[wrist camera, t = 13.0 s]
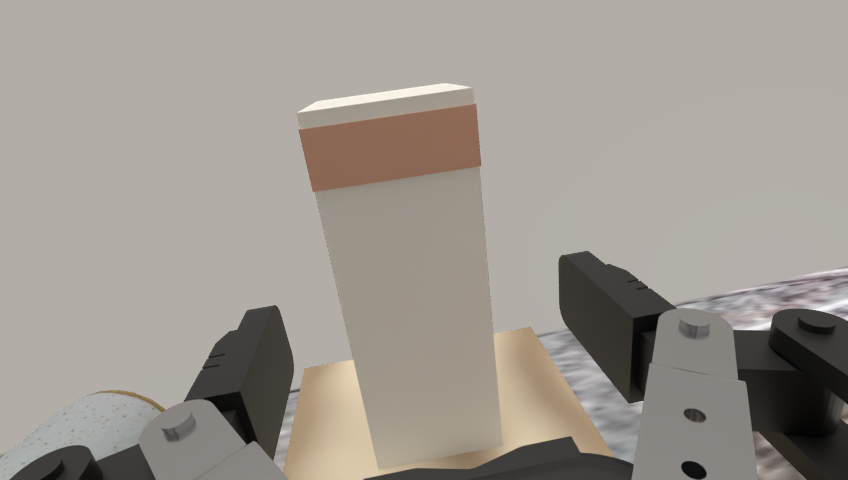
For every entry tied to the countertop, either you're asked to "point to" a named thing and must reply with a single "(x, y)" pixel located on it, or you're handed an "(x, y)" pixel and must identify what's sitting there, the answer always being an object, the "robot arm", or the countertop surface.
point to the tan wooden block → (520, 424)
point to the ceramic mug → (86, 428)
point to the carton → (410, 264)
